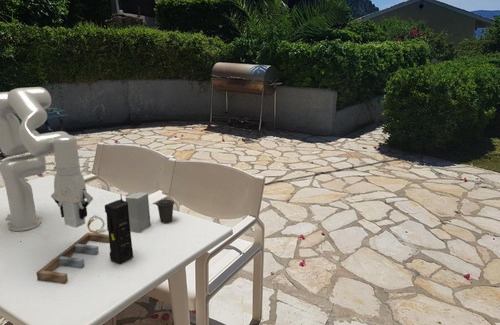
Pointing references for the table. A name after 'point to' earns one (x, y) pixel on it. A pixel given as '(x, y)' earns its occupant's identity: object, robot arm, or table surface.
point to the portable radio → (119, 231)
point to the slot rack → (67, 261)
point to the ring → (92, 221)
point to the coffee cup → (165, 210)
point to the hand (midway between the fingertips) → (74, 216)
